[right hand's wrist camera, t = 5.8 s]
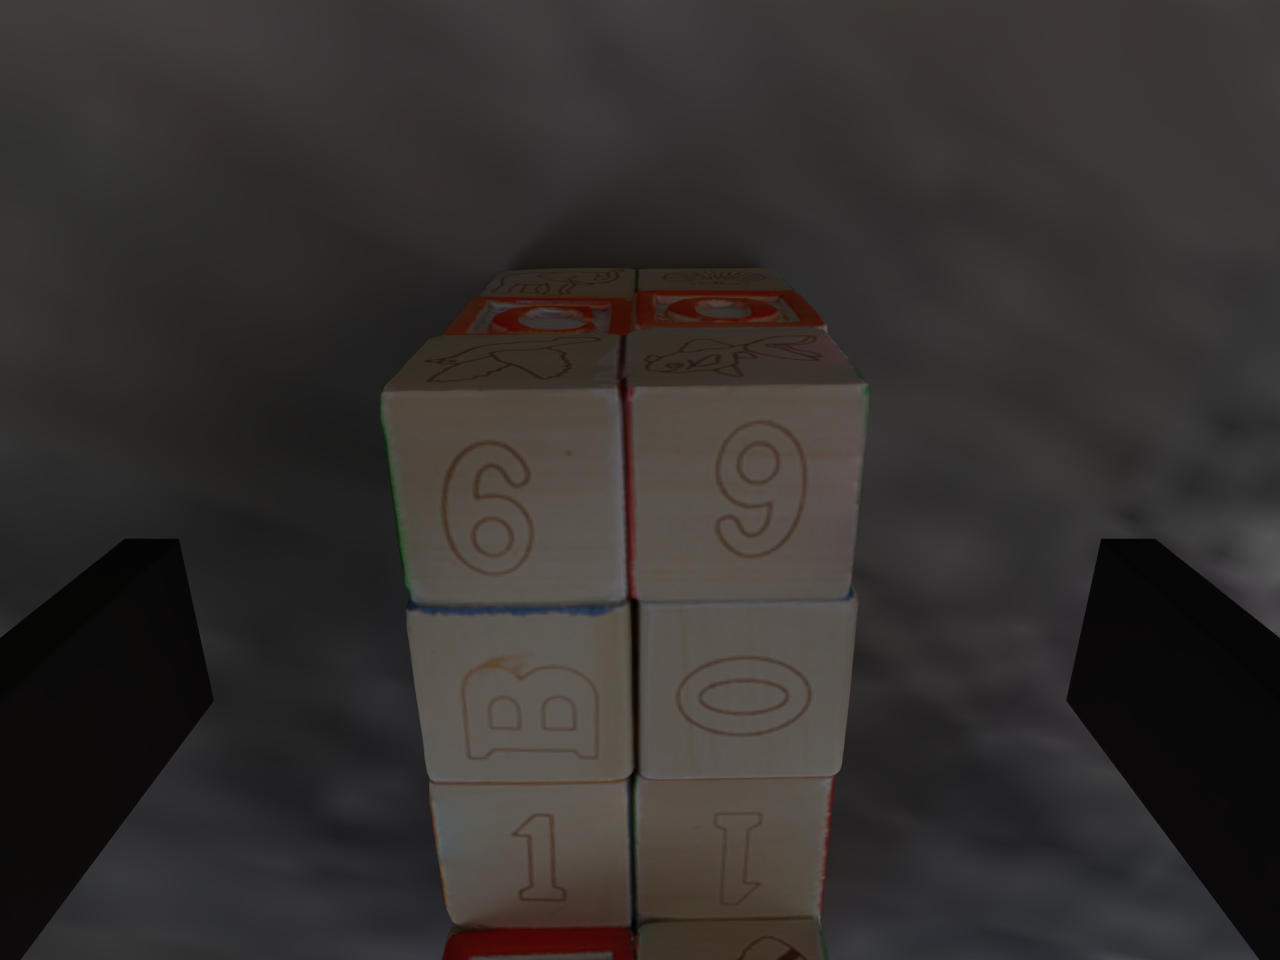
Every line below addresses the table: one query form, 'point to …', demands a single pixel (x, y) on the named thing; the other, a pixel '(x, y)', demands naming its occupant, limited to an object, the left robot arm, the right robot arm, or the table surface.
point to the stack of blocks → (630, 609)
